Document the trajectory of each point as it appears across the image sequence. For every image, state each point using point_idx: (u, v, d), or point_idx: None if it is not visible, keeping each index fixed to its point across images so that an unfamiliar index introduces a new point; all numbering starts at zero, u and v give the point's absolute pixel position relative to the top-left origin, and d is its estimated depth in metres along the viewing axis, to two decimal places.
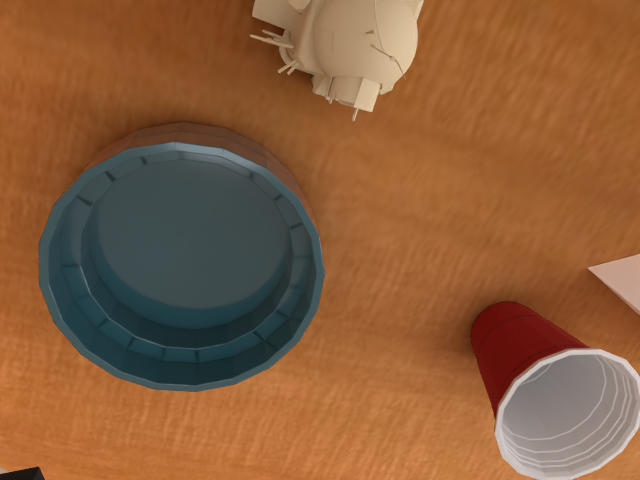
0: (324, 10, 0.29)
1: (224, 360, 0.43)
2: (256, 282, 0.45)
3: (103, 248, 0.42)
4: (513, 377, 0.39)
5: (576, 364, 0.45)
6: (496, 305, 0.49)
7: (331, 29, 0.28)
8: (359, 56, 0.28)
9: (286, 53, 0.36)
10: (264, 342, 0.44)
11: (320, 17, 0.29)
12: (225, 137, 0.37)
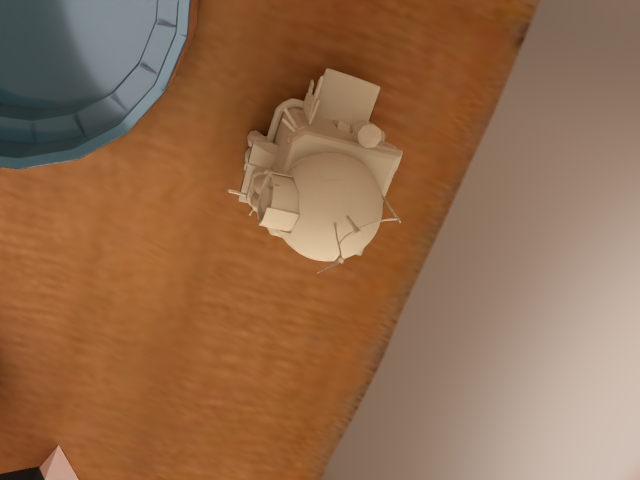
0: (359, 164, 0.27)
1: None
2: None
3: None
4: None
5: None
6: None
7: (346, 177, 0.26)
8: (323, 210, 0.26)
9: (289, 107, 0.33)
10: None
11: (352, 160, 0.27)
12: (191, 33, 0.30)
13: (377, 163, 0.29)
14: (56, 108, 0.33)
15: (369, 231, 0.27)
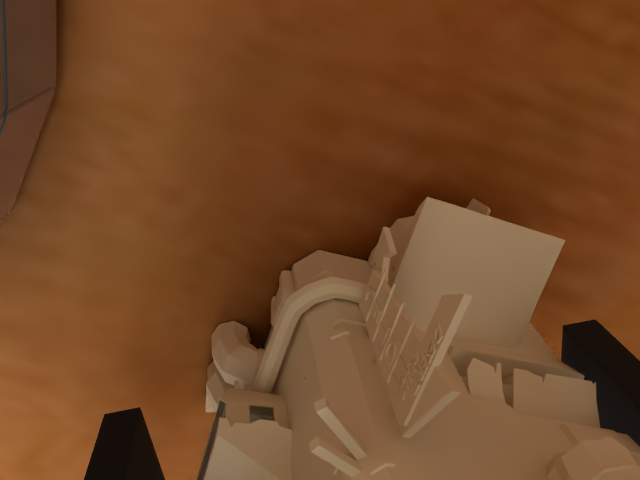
0: None
1: None
2: None
3: None
4: None
5: None
6: None
7: None
8: None
9: (321, 300, 0.12)
10: None
11: None
12: (6, 115, 0.09)
13: None
14: None
15: None
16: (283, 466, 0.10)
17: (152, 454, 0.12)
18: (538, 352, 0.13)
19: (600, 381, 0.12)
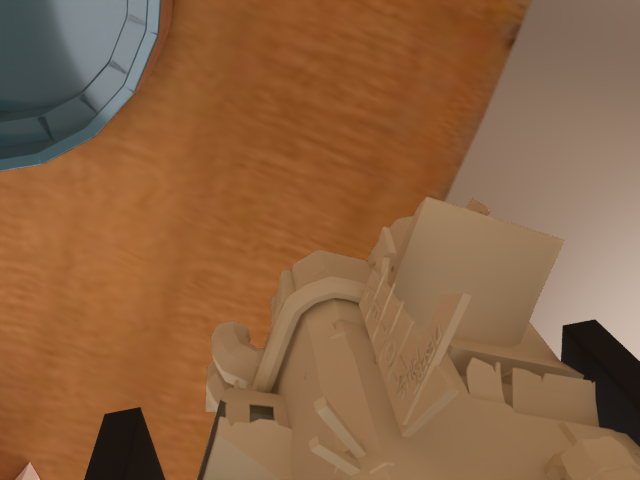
0: None
1: None
2: None
3: None
4: None
5: None
6: None
7: None
8: None
9: (321, 300, 0.12)
10: None
11: None
12: (164, 31, 0.28)
13: None
14: (23, 110, 0.31)
15: None
16: (283, 465, 0.10)
17: (152, 454, 0.12)
18: (538, 352, 0.13)
19: (600, 381, 0.12)
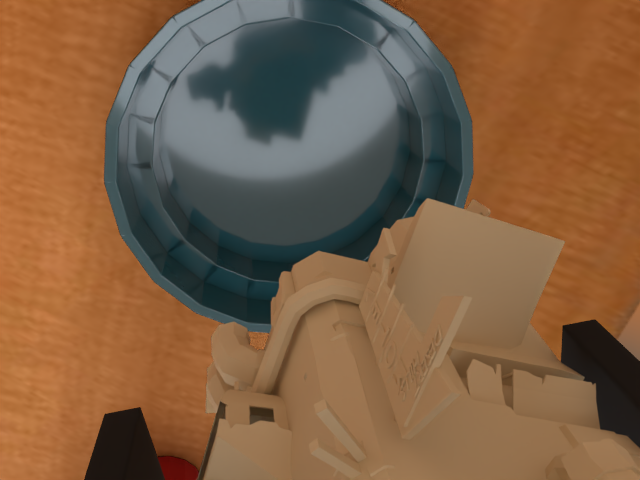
0: None
1: (136, 204, 0.30)
2: (233, 226, 0.35)
3: (287, 34, 0.31)
4: None
5: None
6: None
7: None
8: None
9: (321, 301, 0.12)
10: (166, 252, 0.32)
11: None
12: None
13: None
14: (297, 261, 0.36)
15: None
16: (283, 467, 0.10)
17: (152, 454, 0.12)
18: (538, 353, 0.13)
19: (599, 381, 0.12)
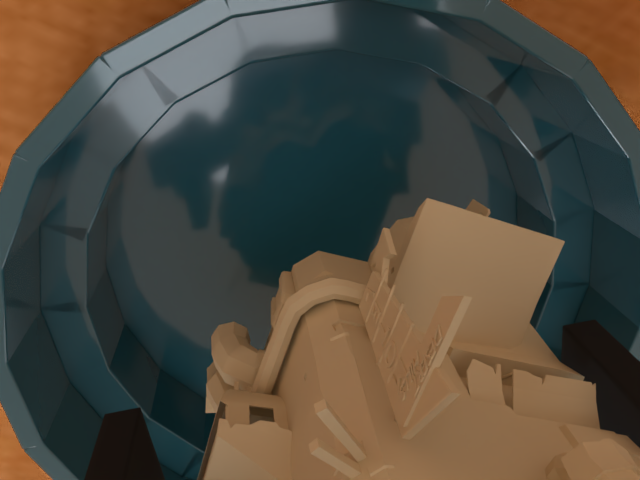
0: None
1: (60, 371, 0.17)
2: None
3: (323, 73, 0.18)
4: None
5: None
6: None
7: None
8: None
9: (321, 301, 0.12)
10: None
11: None
12: None
13: None
14: None
15: None
16: (283, 467, 0.10)
17: (152, 454, 0.12)
18: (538, 353, 0.13)
19: (599, 380, 0.12)
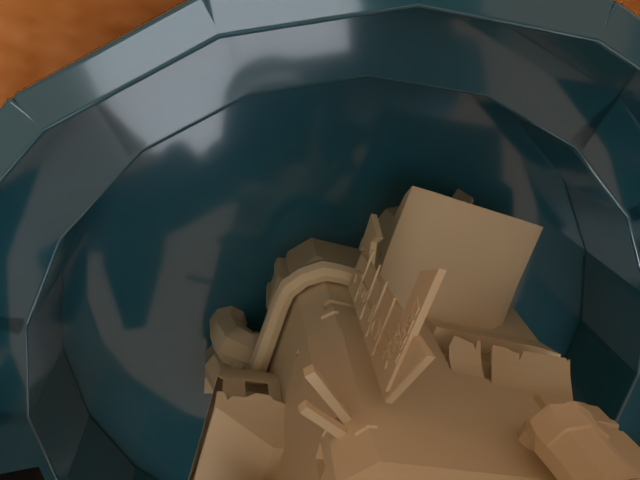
0: None
1: None
2: None
3: (344, 102, 0.14)
4: None
5: None
6: None
7: None
8: None
9: (313, 283, 0.13)
10: None
11: None
12: None
13: None
14: None
15: None
16: (276, 436, 0.11)
17: None
18: (518, 333, 0.13)
19: None
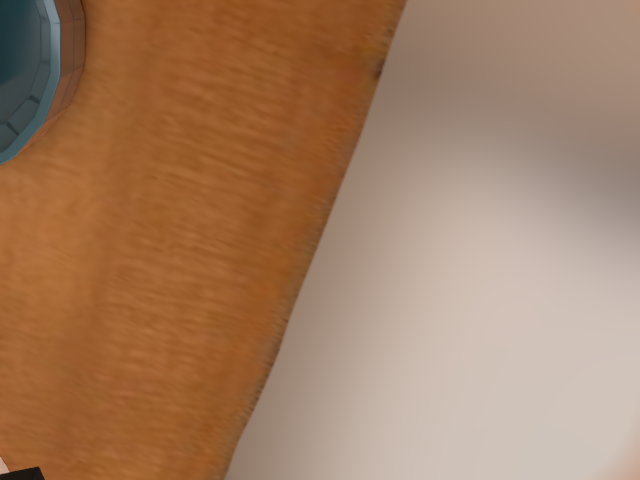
0: None
1: None
2: None
3: None
4: None
5: None
6: None
7: None
8: None
9: None
10: None
11: None
12: (73, 71, 0.35)
13: None
14: None
15: None
16: None
17: None
18: None
19: None
